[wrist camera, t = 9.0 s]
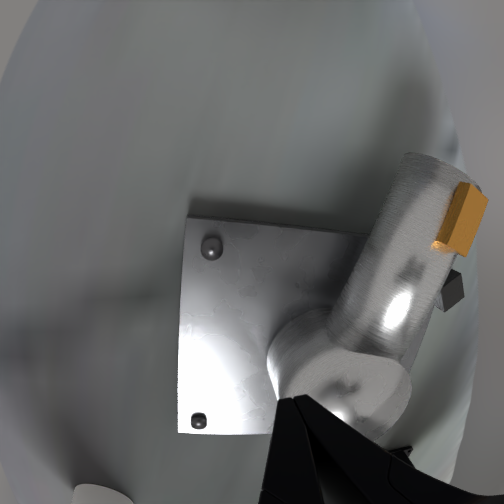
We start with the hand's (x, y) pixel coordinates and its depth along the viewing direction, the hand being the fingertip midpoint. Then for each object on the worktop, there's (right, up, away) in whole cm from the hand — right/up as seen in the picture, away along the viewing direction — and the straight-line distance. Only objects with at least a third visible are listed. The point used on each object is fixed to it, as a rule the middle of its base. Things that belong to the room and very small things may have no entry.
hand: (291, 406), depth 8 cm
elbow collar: (+5, +2, +11) cm, 12 cm away
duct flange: (+3, -2, +13) cm, 14 cm away
